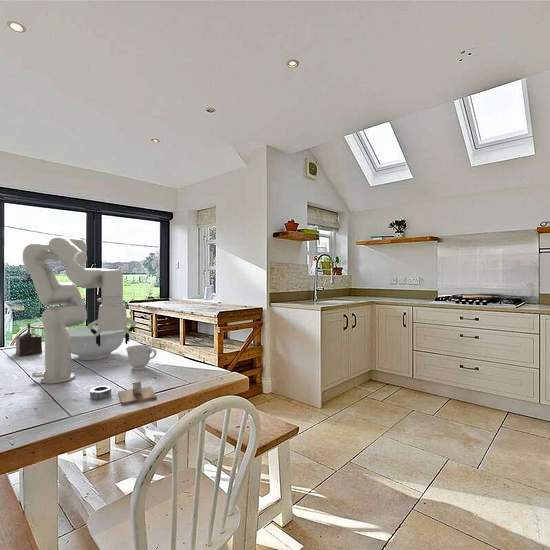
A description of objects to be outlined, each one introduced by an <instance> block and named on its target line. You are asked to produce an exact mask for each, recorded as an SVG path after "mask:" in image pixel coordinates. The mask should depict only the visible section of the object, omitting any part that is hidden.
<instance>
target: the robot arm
mask: <svg viewBox="0 0 550 550" xmlns="http://www.w3.org/2000/svg"><path fill="white" fill-rule="evenodd" d="M87 249H88V247H87V244H86V242H85V241H84V240H83V239H81V238H78V237H71V236H56V237H53V238H52V239H50V240H49V242H48V243H45V242H43V243H42V242H36V243H35V242H33V243H30V244H27V245H26V246H25V247H24V248H23V252H22V262H23V264H24V267H25V269H26V271H27V273H28V274H29V275H30V278H31V280H32V283H33V286H34V289H35V291H36V294H37V297H38V299H39V302H40V303H41V304H42V305H44V306H50V307H47V308H45V310H43V312H42V313H41V322H42V326H43V327H42V328H44V329H43V331H44V333H43V334H44V370H41V371H36V372H35V371H34V372H32V378H35V379H37V378H40V383H42V384H45V385H46V384H49V385H50V384H51V385H53V384H61V383H66V382H69V381H72V380H73V379H75V377H76V374H75V373H74V372H72V353H71V337H70V334H69V333H68V331H67V329H66V328H69V327H73V326H74V327H75V326H79V325H83V324H85V322H86V321H87V319H88V311H87V308H86V306H85V303H84V300H83V297H82V295H81V292H80V290H79V288H81V289H94V288H95V289H96V288H101V297H100V298H97V303H101V304H99V308H98V312H97V313H98V314H97V319H96V320H94V321H92V322H90V323H88V325H87V326H88V328H89V329H90V331H91V332H92V333H93V334H94V335H95V336H96V344H98V346H100V345H101V343H100V333H101V332H102V331H114V330H124V331H125V334H124V342H125V344H126V345H128V342H130V334H131V332H132V331H134V329H135V327H136V325H137V323H138V322H137V321H135V320H134V319H130V318H128V314H127V308H126V304H125V303H124V280H123V279H124V275H123V274H124V273H123V271H122V270H121V269H115V268H114V269H111V268H110V269H108V268H84V267H83V266H85V264H86V263H87V261H88V256H87V254H86V253H87V251H88V250H87ZM45 263H46V264H47V263H49V264H50V263H51V264H64V265H65V273H66V277H67V278H68V280H69V281H71V282H59V281H58V279H57V277H56V275H55V272H54V271H53V269H51V267H49V266H48V265H46V264H45ZM78 287H79V288H78ZM128 323H129V324H131V325H130V327H129V328H128ZM97 325H98V329H99V330H98V331H96V330H95V329H94V328H93V326H97Z"/></svg>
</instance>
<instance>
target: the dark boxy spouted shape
mask: <svg viewBox="0 0 550 550" xmlns="http://www.w3.org/2000/svg"><path fill="white" fill-rule="evenodd" d="M26 327H27V332H26V333H24V334H22V335H18V336H15V353H16V355H17V356H18V357H27V356H33V355H37V354H39V355H40V354H42V353H43V343H42V342H43V338H42V336H41V335H40V334H37V333H34V332H31V329H35V330H36V329H37V330H44V327H42V326H31V323H27V326H26Z"/></svg>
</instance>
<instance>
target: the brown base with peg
mask: <svg viewBox="0 0 550 550" xmlns="http://www.w3.org/2000/svg"><path fill="white" fill-rule="evenodd" d="M117 395H118V398H120V399H119V401H120V406H125V405H124V404H126V405H131V404H137V403H141V402H142V401H143V402H149V401H155V400H157V395H156V393H155V391H154V389H153V388H152V386H145V387H142V381H141V380H134V381H133V382H132V389H125V390H120V391H119V390H118V392H117ZM143 402H142V403H143ZM130 403H131V404H130Z"/></svg>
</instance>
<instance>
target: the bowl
mask: <svg viewBox="0 0 550 550" xmlns="http://www.w3.org/2000/svg"><path fill="white" fill-rule="evenodd" d="M93 328H94V329H95V330H96V331H98V330H99V329H98V324H96V325H94V326H93ZM66 330H67V331H68V333H69V334H70V337H71V355H75V356H78V357H77V358H78V360H82V361H94V360H101V359H106V358H109V357H110V356H112V355H111V354H112V352H114V351H116V350H117V349H119V348H120V346H121V345H122V344H123V342H124V340H125V333H126V332H125V331H124V330H114V331H102V332H101V333H100V343H101V345H100V346H98V344H96V336H95V335H94V334H93V333H92V332H91V331H90V329H89V328H88V325H87V326H78V327H73V328H67V329H66Z"/></svg>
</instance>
